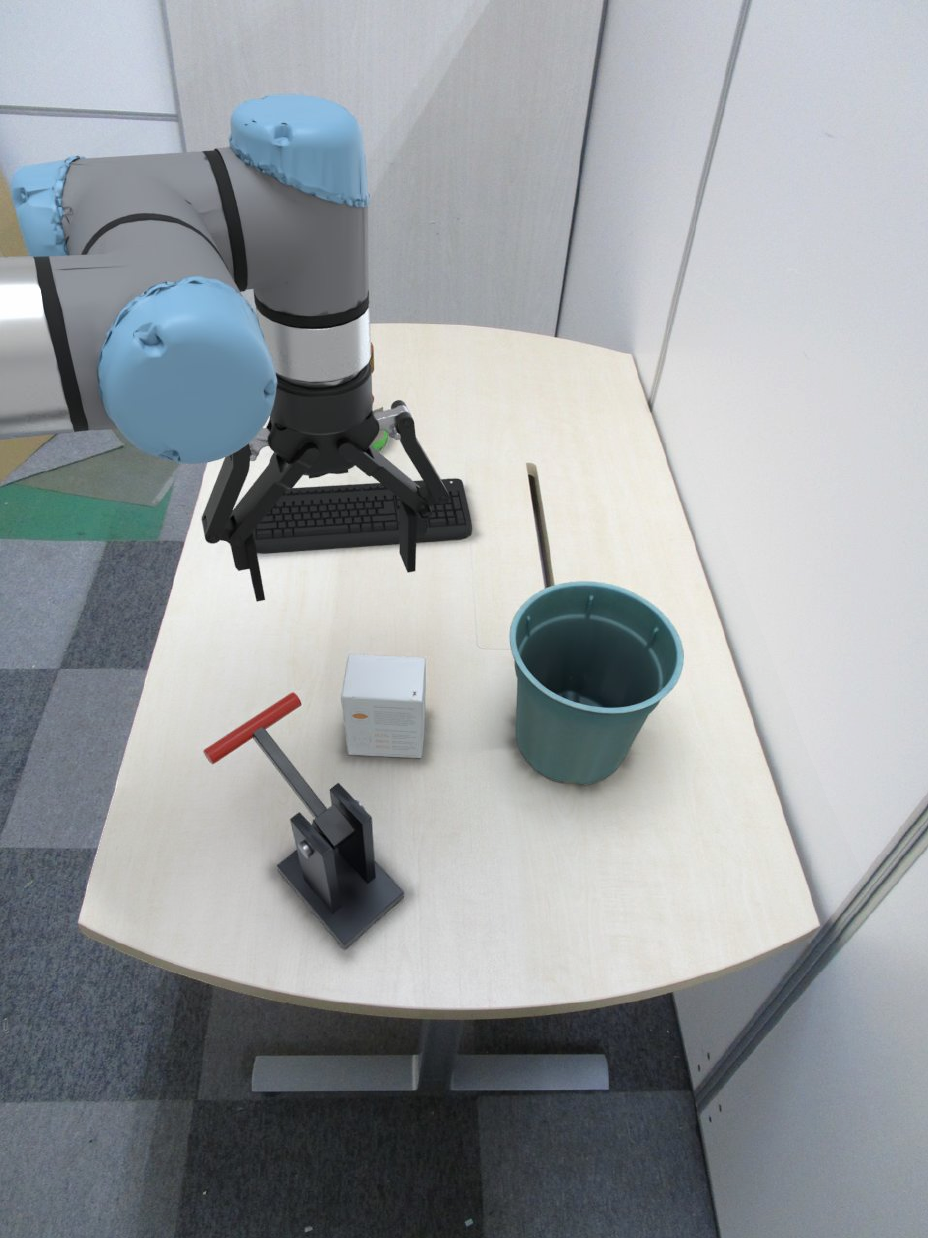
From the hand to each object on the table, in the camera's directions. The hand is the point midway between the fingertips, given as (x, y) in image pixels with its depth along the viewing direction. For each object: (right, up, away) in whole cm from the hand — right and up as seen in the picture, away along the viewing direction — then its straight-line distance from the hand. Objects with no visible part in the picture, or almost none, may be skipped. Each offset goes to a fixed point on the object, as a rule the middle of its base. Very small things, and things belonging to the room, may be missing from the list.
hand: (334, 576), depth 71 cm
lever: (-3, -18, -4) cm, 19 cm away
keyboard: (-2, +10, +37) cm, 38 cm away
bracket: (0, -29, +2) cm, 29 cm away
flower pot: (+23, -17, +15) cm, 32 cm away
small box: (+3, -17, +14) cm, 22 cm away
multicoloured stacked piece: (-6, +24, +50) cm, 55 cm away
